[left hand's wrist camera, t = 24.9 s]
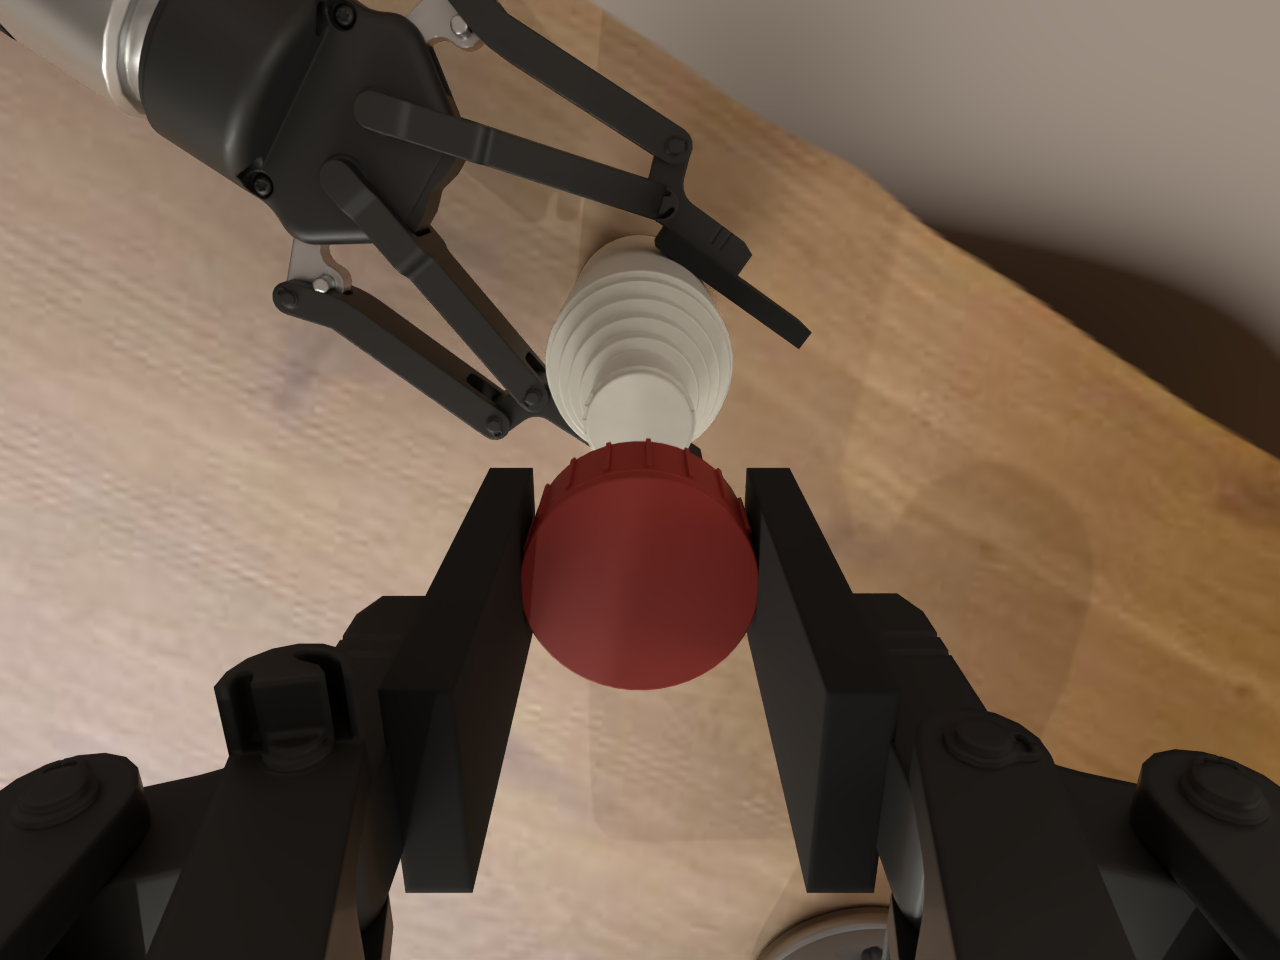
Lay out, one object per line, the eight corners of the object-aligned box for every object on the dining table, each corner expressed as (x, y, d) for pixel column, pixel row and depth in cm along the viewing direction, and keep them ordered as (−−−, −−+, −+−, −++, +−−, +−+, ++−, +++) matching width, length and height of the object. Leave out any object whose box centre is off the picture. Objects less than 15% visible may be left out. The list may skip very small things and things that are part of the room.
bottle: (583, 370, 38) (536, 543, 21) (567, 241, 36) (500, 315, 19) (707, 358, 38) (764, 523, 21) (699, 228, 36) (754, 291, 19)
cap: (781, 585, 15) (800, 638, 13) (590, 663, 15) (584, 725, 14) (695, 400, 14) (703, 432, 12) (490, 493, 14) (470, 538, 12)
